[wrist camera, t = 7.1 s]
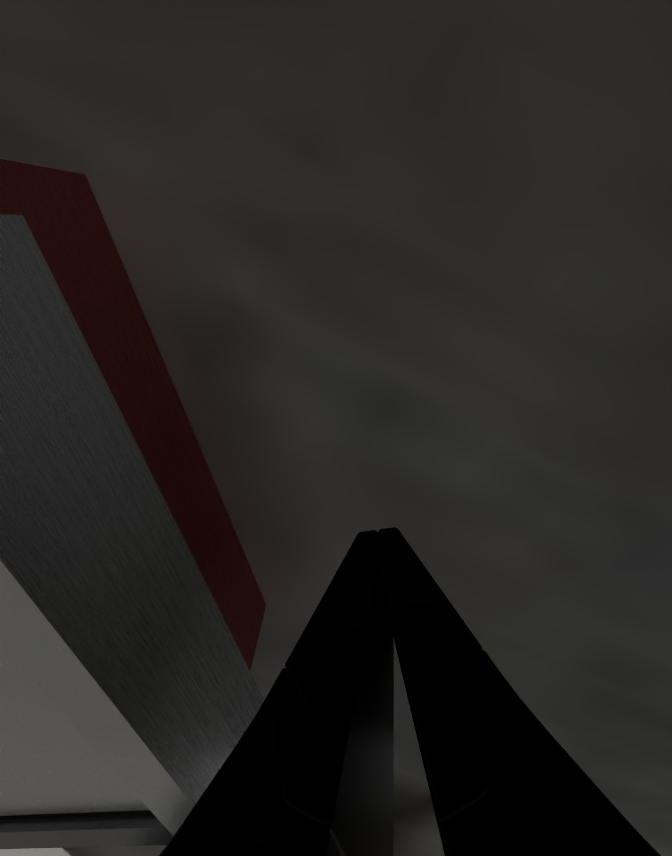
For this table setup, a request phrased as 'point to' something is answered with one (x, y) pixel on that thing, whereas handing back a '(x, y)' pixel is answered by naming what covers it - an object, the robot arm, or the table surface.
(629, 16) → the table surface
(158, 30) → the table surface
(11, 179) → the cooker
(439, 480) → the table surface
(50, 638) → the lid
